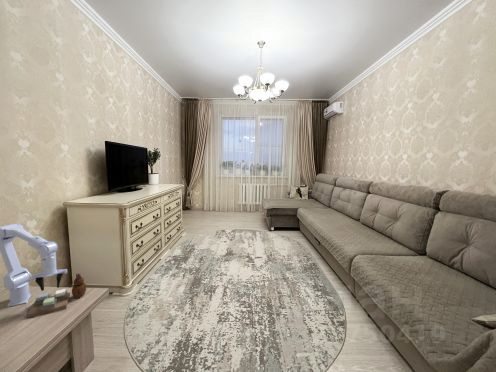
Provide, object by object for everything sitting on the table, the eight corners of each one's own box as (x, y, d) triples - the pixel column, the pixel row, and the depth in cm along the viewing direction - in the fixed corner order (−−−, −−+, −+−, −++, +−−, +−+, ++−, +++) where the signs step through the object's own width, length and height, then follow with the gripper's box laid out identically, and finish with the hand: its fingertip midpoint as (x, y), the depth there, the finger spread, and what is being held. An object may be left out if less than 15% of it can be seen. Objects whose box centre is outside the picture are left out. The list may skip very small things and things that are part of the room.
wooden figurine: (78, 300, 127) (77, 275, 125) (69, 298, 128) (68, 274, 127) (88, 293, 133) (87, 270, 132) (80, 292, 135) (79, 268, 133)
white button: (56, 294, 127) (56, 290, 126) (65, 292, 129) (65, 288, 128) (55, 297, 123) (55, 294, 123) (64, 295, 125) (64, 292, 125)
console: (36, 303, 123) (35, 296, 123) (70, 295, 131) (69, 289, 131) (28, 318, 111) (27, 310, 111) (66, 308, 119) (65, 301, 119)
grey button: (39, 298, 123) (38, 294, 122) (48, 296, 125) (48, 292, 124) (37, 301, 119) (36, 298, 119) (47, 299, 121) (46, 295, 121)
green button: (45, 302, 119) (44, 299, 118) (54, 300, 121) (54, 296, 121) (43, 307, 115) (42, 303, 115) (53, 304, 117) (53, 300, 117)
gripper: (28, 270, 113) (30, 295, 114) (65, 264, 121) (66, 288, 122) (32, 265, 119) (34, 289, 120) (67, 260, 127) (68, 282, 128)
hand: (50, 288), depth 122 cm, fingers open, 6 cm apart
